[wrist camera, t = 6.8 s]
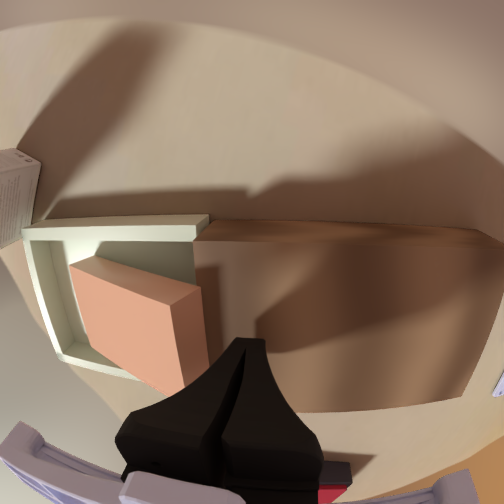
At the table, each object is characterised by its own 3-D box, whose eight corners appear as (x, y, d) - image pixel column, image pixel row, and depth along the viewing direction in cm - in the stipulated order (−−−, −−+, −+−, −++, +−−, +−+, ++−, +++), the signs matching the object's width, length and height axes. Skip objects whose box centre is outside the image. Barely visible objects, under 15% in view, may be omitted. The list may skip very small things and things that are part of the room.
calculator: (311, 521, 23) (184, 507, 23) (310, 494, 27) (190, 478, 27) (355, 488, 19) (191, 473, 19) (349, 454, 23) (200, 436, 23)
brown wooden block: (476, 229, 14) (514, 250, 11) (441, 361, 18) (461, 396, 14) (214, 219, 16) (192, 240, 12) (224, 365, 19) (211, 406, 16)
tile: (200, 286, 13) (169, 305, 11) (212, 385, 15) (189, 407, 13) (93, 255, 17) (68, 264, 15) (112, 334, 19) (91, 346, 17)
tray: (208, 214, 16) (195, 225, 14) (220, 367, 19) (212, 392, 17) (43, 219, 17) (20, 228, 15) (74, 343, 21) (59, 359, 18)
